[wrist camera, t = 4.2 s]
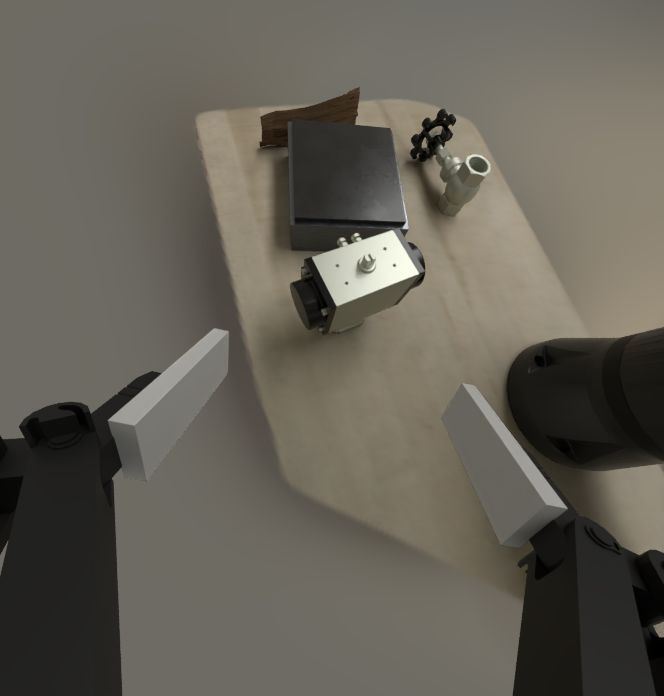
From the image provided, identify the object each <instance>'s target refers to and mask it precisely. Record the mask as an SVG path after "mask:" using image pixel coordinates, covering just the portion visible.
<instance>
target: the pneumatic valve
mask: <svg viewBox="0 0 664 696" xmlns="http://www.w3.org/2000/svg"><path fill="white" fill-rule="evenodd" d="M351 240H352V241H353V243H352V244H349V245H348V244H347V242H346V240H345V238H340V239H339V240H338V241H337V244H338V246H339V248H337V249H334V250H331V251H328V252H325V253H322V254H319V255H316V256H313V257H310V258H307V259H304V267H301V279H300V280H297V281H295V282H292V283H291V284H290V290H291V294H292V298H293V301H294V304H295V307H296V309H297V312H298V314H299V316H300V318H301V320H302V322H303V324H304V325H305V327H306V328H307V329H308V330H312V329H314V328H316V327H318V330H319V331H320V332H321V333H322V335H325V334H327V333H330V332H332V331H334V332H335V333H337V332H338V333H341V332H344V331H346V330H348V329H351V328H353V327H355V326H358V325H360V324H362V323H363V321H364V318H366V317H368V316H371V315H373V314H375V313H378V312H380V311H383V310H385V309H387V308H390V307H392V306H395V305H397V304H398V303H399V302H400V301H401V300H402V299H403V298H404V296H405V295H406V294H407V293H408V292H409V291H410V289H412V288H415V287H417V286H419V285H420V284H421V283H422V281H423V279H424V276H425V263H424V259H423V256H422V254H421V252H420V250H419V249H418V248H417V247H416V246H415V245H414V244H412V243H409V242H407V241H406V239H405V237H404V236H403V234H402V233H401V231H400V229H399V228H396V229H393V230H390V231H387V232H384V233H381V234H378V235H375V236H372V237H369V238H366V239H363V240H362V239H361V237H360V236H359V234H358V233H355V234H353V235H352V236H351Z"/></svg>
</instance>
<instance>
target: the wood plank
mask: <svg viewBox="0 0 664 696" xmlns="http://www.w3.org/2000/svg"><path fill="white" fill-rule="evenodd" d="M359 94H360V92H359V88H356V89H354V90H352V91H349V92H348V93H347V94H345V95H343V96H340V97H336V98H334V99H331V100H328V101H325V102H322V103H319V104H316V105H313V106H309V107H305V108H299V109H293V110H285V111H274V112H271V113H268V114H266V115H263V116H261V117H260V118H261V125H262V142H260V147H262V146H266V145H282V146H286V145H288V122H292V119H294V120H305V121H316V122H327V123H338V124H349V125H355V122H356V116H358V113H357V109H358V102H359Z"/></svg>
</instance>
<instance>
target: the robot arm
mask: <svg viewBox="0 0 664 696" xmlns="http://www.w3.org/2000/svg"><path fill="white" fill-rule="evenodd" d="M228 342H229V331H224V330H220V329H215V328H214V329H213V330H212V331H211V332H209V333H208V334H207V335H206V336H205V337H204V338H202V339H201V340H200V341H199V342H198V343H197V344H196V345H194V346H193V347H192V348H191V349H190V350H189V351H188V352H186V353H185V354H184V355H183V356H182V357H180V358H179V359H178V360H177V361H176V362H175V363H174V364H172V365H171V366H170V367H169V368H168V369H167V370H165V371H164V372H163V373H158V372H153V371H151V372H149V373H147V374H144V375H142V376H140V377H138V378H136V379H135V380H134V381H133V382H131V383H130V384H129V385H127V387H125V388H124V389H122V390H121V391H120V392H119V393H118V394H117V395H115V396H113V397H112V398H111V399H109V400H108V401H107V402H106V403H104V404H103V405H102V406H101V407H99V408H98V409H97V410H95V411H94V412H93V413H92V414H90V411H89V408H88V406H86V405H84V404H82V403H77V402H65V403H58V404H54V405H50V406H47V407H44V408H42V409H40V410H38V411H35V412H33V413H32V414H31V415H29V416H28V417H26V418H25V419H24V420H23V422H22V423H21V424H20V426H19V428H20V430H21V432H22V434H23V435H24V437H25V438H19V439H2V438H1V436H0V554H1V552H2V551H3V549H4V547H5V545H6V543H7V541H8V540H9V541H8V545H7V550H6V554H5V558H4V563H3V567H2V571H1V575H0V696H122V678H121V653H120V629H119V606H118V582H117V581H118V580H117V557H116V534H115V533H116V532H115V509H114V485H113V484H114V483H113V480H112V477H113V476H114V475H115V474H116V473H117V472H118V471H119V469H120V468H122V471H123V475H124V478H129V479H135V480H140V481H146V482H147V481H148V480H149V479H150V477H151V476H152V475H153V473H154V472H155V471H156V469H157V468H158V467H159V465H160V464H161V462H162V461H163V460H164V458H165V457H166V456H167V454H168V453H169V452H170V450H171V449H172V448H173V446H174V445H175V443H176V442H177V441H178V440H179V438H180V437H181V436H182V434H183V433H184V432H185V430H186V429H187V428H188V426H189V425H190V423H191V422H192V421H193V419H194V418H195V417H196V415H197V414H198V413H199V411H200V410H201V409H202V407H203V406H204V405H205V403H206V402H207V401H208V399H209V398H210V397H211V395H212V394H213V393H214V391H215V390H216V389H217V387H218V386H219V385H220V383H221V382H222V380H223V379H224V378H225V376H226V375H227V374H228V344H229V343H228ZM508 397H509V402H510V406H511V410H512V413H513V415H514V418H515V420H516V422H517V424H518V426H519V428H520V429H521V431H522V433H523V434H524V435H525V437H526V438H527V439H528V440H529V442H530V443H531V444H532V445H533V446H534V447H535V448H536V449H537V450H538V451H540V452H541V453H542V454H544V455H545V456H546V457H548V458H550V459H551V460H553V461H555V462H557V463H560V464H562V465H566V466H570V467H575V468H581V469H586V470H593V471H607V470H615V469H623V468H631V467H639V466H647V465H655V464H663V463H664V327H662V328H658V329H654V330H650V331H646V332H642V333H639V334H634V335H630V336H625V337H621V338H559V339H553V340H549V341H545V342H542V343H539V344H536V345H533V346H531V347H529V348H527V349H526V350H524V351H523V352H522V353H521V354H520V355H519V356H518V357H517V358H516V360H515V361H514V363H513V365H512V368H511V370H510V374H509V379H508ZM441 419H442V421H443V423H444V426H445V428H446V430H447V432H448V434H449V436H450V438H451V440H452V443H453V445H454V447H455V449H456V451H457V453H458V455H459V457H460V460H461V462H462V464H463V466H464V468H465V470H466V472H467V474H468V477H469V479H470V481H471V483H472V485H473V487H474V489H475V492H476V494H477V496H478V498H479V500H480V502H481V504H482V506H483V509H484V511H485V513H486V515H487V517H488V519H489V521H490V523H491V526H492V528H493V530H494V532H495V534H496V536H497V538H498V540H499V543H500V545H504V546H510V547H515V548H520V547H521V546H523V545H524V544H525V543H526V542H528V541H529V540H530V542H531V544H532V546H533V547H534V549H535V550H533V551H532V552H531V553H529V554H528V555H527V556H526V557H524V558H523V559H522V560H520V561H519V563H518V566H519V567H520V568H521V567H522V566H524V565H525V564H528V570H526V571H525V572H526V573H527V579H526V588H525V596H524V604H523V613H522V621H521V630H520V638H519V647H518V655H517V663H516V672H515V680H514V689H513V696H664V637H662V638H660V637H659V636H658V634H657V633H656V631H655V629H654V627H653V625H656V624H659V623H661V622H664V553H662V552H660V551H657V550H649V551H647V552H645V553H643V554H641V555H637V554H635V553H633V552H631V551H629V550H627V549H625V548H623V547H621V546H620V545H619V543H618V542H617V541H616V540H615V538H613V537H612V536H611V535H610V534H609V533H608V532H607V531H606V530H605V529H604V528H602V527H601V526H600V525H598V524H597V523H595V522H594V521H592V520H590V519H588V518H585V517H580V516H579V515H578V513H577V512H576V511H575V509H574V508H573V507H572V506H571V504H570V503H569V502H568V500H567V499H566V498H565V497H564V495H563V494H562V493H561V491H560V490H559V489H558V488H557V486H556V485H555V484H554V482H553V481H552V480H550V477H549V476H548V475H547V473H546V472H545V471H543V468H542V467H541V466H540V464H539V463H538V462H537V460H536V459H535V458H534V457H533V456H532V455H531V454H530V453H529V452H527V451H526V450H525V449H524V448H523V447H521V446H520V445H519V444H518V442H517V441H516V440H515V438H514V437H513V436H512V434H511V433H510V432H509V430H508V429H507V428H506V426H505V425H504V424H503V422H502V421H501V420H500V418H499V417H498V416H497V414H496V413H495V412H494V411H493V409H492V408H491V407H490V405H489V404H488V403H487V401H486V400H485V399H484V397H483V396H482V395H481V393H480V392H479V391H478V389H477V388H476V387H475V386H473V385H469V384H464V383H462V384H461V386H460V387H459V389H458V391H457V392H456V394H455V396H454V397H453V399H452V401H451V402H450V404H449V406H448V407H447V409H446V411H445V412H444V414H443V416H442V417H441Z"/></svg>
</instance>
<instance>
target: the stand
mask: <svg viewBox="0 0 664 696" xmlns="http://www.w3.org/2000/svg"><path fill="white" fill-rule="evenodd" d="M288 155H289V197H290V231H291V248H292V250H302V251H331V250H334V249H337V248H339V246H338V244H337V241H338V240H339V239H340V238H345V240H346V242H347V244H348V245H349V244H352V243H353V241H352V240H351V236H352V235H353V234H355V233H358V234H359V236H360V237H361V239H362V240H363V239H366V238H369V237H372V236H375V235H378V234H381V233H384V232H387V231H390V230H393V229H396V228H399V229H400V231H401V233H402V234H403V236H404V237H405V235H406V233H407V231H408V230H409V228H408V222H407V216H406V210H405V205H404V199H403V193H402V187H401V181H400V176H399V170H398V164H397V158H396V152H395V146H394V141H393V135H392V131H391V130H390V128H382V127H371V126H360V125H349V124H338V123H327V122H316V121H305V120H294V119H292V122H288Z"/></svg>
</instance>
